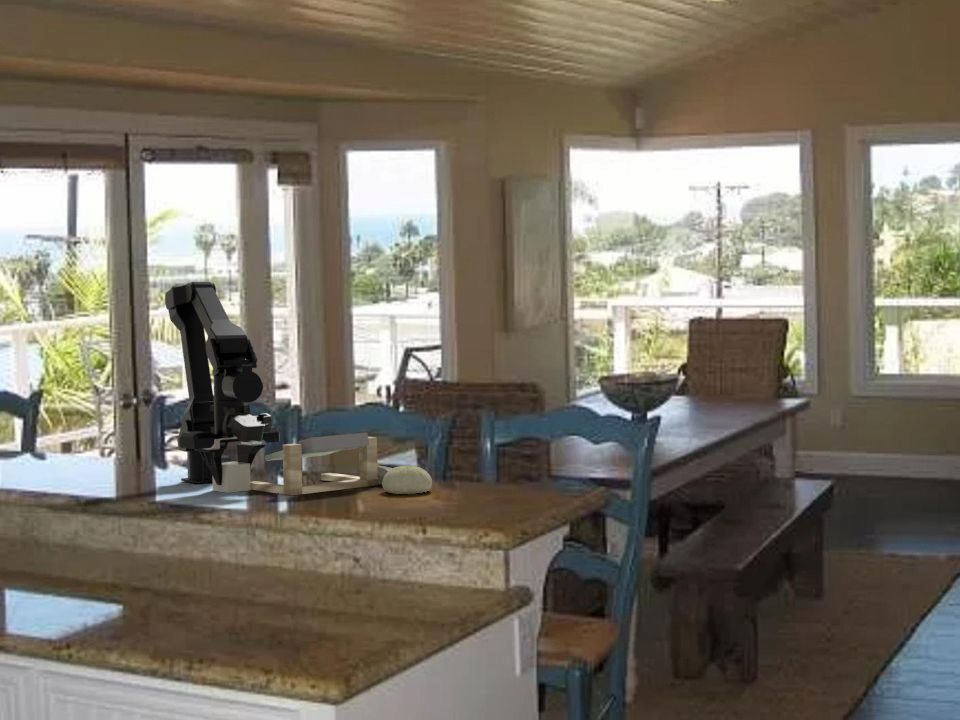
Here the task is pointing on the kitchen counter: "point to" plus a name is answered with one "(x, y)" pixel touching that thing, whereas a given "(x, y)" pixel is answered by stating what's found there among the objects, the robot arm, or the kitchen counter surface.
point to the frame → (338, 481)
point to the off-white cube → (234, 477)
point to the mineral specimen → (382, 472)
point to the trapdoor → (326, 445)
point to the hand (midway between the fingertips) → (231, 483)
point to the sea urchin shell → (407, 480)
